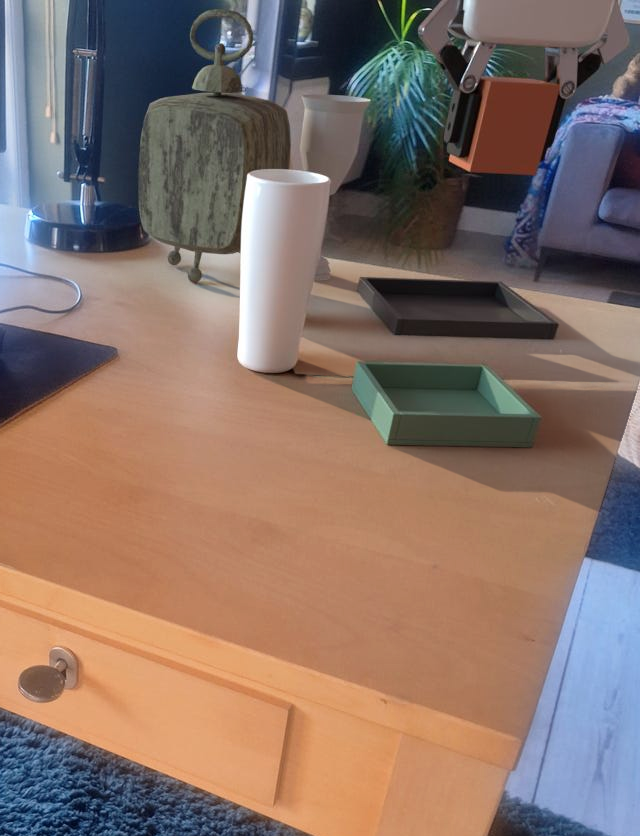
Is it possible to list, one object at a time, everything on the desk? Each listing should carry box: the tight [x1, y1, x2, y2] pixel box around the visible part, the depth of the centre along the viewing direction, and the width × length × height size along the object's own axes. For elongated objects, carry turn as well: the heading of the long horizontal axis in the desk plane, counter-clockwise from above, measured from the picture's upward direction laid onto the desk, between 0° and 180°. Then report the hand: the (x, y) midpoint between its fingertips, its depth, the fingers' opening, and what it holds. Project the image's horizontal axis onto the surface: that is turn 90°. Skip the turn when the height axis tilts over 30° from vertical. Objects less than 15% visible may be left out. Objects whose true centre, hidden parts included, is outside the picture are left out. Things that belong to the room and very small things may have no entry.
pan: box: [356, 276, 559, 341], centre depth 91 cm, size 16×15×2 cm
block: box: [448, 75, 560, 176], centre depth 64 cm, size 5×5×6 cm
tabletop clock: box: [137, 8, 292, 284], centre depth 92 cm, size 14×9×25 cm, turn 59°
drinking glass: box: [236, 169, 331, 374], centre depth 73 cm, size 7×7×15 cm
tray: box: [351, 360, 542, 448], centre depth 69 cm, size 11×11×2 cm
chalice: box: [299, 93, 371, 281], centre depth 97 cm, size 7×7×18 cm
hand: (494, 154), depth 65 cm, fingers closed on block, 5 cm apart
